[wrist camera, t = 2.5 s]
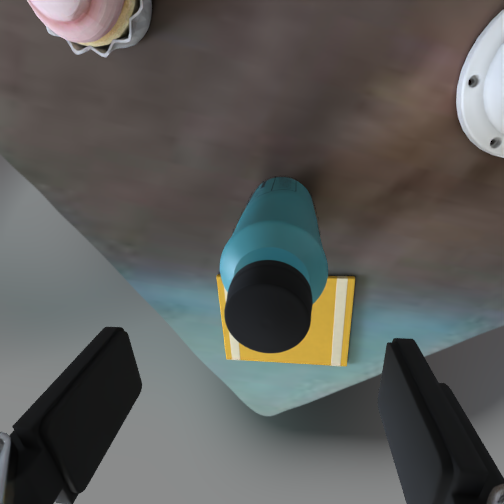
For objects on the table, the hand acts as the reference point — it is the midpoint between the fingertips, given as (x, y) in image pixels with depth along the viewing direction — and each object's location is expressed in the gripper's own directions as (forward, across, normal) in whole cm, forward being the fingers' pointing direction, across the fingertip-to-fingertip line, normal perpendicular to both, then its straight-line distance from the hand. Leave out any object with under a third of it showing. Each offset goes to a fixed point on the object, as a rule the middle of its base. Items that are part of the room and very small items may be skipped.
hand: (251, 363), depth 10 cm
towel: (+22, 0, +15) cm, 27 cm away
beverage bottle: (+22, 0, 0) cm, 22 cm away
